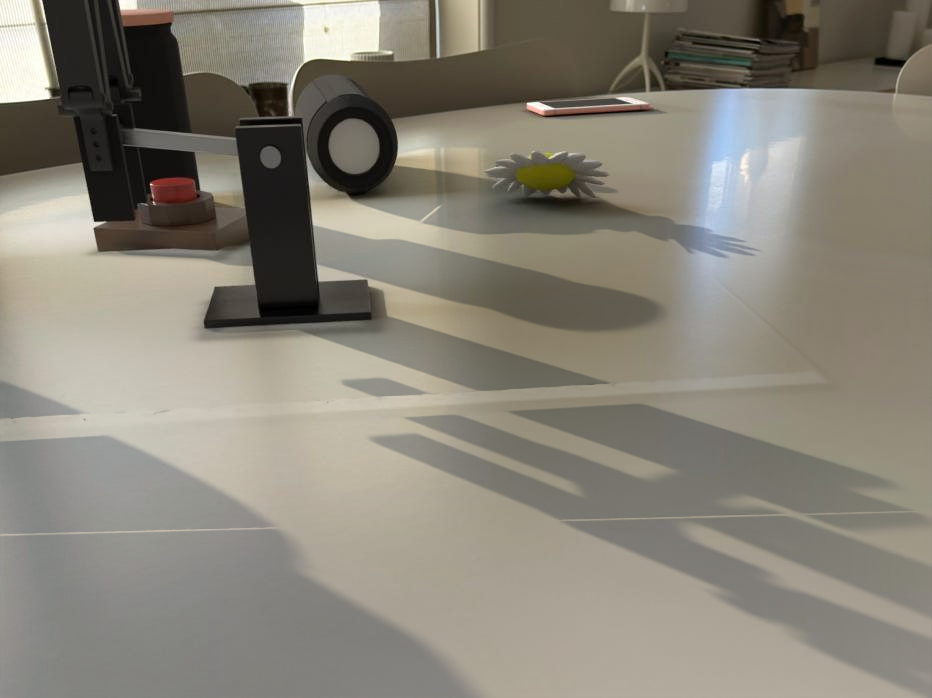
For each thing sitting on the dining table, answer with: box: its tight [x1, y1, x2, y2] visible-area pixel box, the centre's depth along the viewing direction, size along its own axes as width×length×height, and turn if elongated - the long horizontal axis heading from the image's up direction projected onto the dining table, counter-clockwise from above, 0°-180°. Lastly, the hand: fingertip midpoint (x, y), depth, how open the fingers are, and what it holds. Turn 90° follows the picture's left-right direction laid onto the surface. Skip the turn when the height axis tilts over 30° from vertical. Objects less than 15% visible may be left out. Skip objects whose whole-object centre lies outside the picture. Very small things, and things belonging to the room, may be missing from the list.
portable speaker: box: [294, 73, 399, 195], centre depth 123 cm, size 26×10×10 cm, turn 12°
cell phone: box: [526, 96, 650, 116], centre depth 170 cm, size 9×18×1 cm, turn 106°
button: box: [150, 178, 197, 203], centre depth 98 cm, size 4×4×2 cm
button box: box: [92, 189, 249, 253], centre depth 99 cm, size 12×10×4 cm
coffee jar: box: [120, 8, 201, 210], centre depth 110 cm, size 11×11×18 cm
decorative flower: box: [483, 150, 610, 199], centre depth 117 cm, size 13×5×30 cm
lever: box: [118, 118, 238, 157], centre depth 73 cm, size 13×5×2 cm, turn 97°
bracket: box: [203, 115, 373, 329], centre depth 77 cm, size 12×9×13 cm
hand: (121, 210), depth 75 cm, fingers closed on lever, 5 cm apart
